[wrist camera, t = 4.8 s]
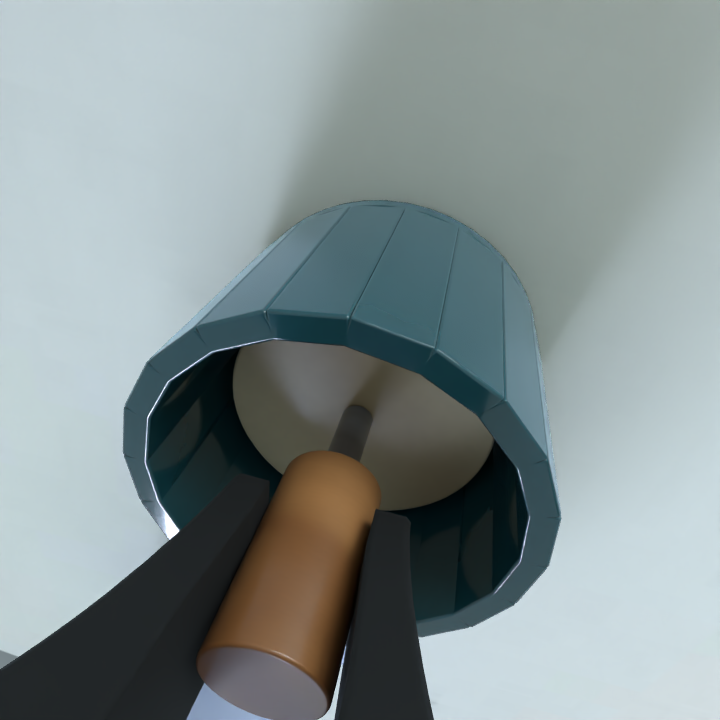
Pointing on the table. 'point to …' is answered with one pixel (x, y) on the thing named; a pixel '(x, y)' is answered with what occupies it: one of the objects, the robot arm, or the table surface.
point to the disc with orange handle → (324, 511)
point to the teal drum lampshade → (393, 345)
